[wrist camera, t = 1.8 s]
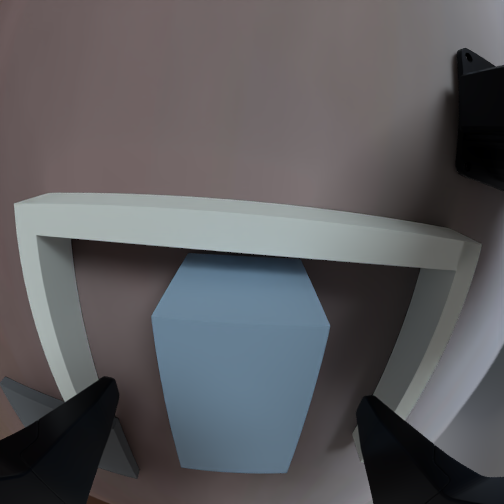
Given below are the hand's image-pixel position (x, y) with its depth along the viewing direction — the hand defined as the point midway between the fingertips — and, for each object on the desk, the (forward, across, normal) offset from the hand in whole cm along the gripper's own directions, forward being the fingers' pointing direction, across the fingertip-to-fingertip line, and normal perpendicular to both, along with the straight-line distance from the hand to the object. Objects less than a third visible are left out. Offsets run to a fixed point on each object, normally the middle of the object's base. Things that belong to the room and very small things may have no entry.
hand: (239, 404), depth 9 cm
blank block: (+4, 0, 0) cm, 4 cm away
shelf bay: (+4, 0, 0) cm, 4 cm away
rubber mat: (+4, +13, +12) cm, 18 cm away
